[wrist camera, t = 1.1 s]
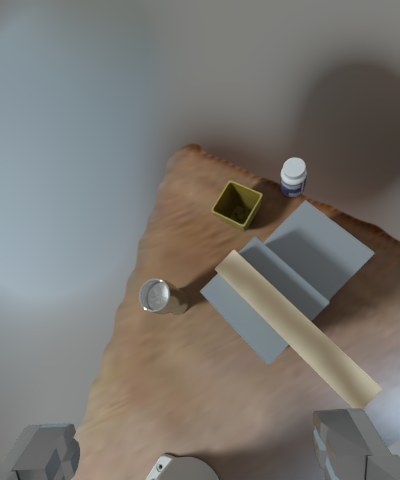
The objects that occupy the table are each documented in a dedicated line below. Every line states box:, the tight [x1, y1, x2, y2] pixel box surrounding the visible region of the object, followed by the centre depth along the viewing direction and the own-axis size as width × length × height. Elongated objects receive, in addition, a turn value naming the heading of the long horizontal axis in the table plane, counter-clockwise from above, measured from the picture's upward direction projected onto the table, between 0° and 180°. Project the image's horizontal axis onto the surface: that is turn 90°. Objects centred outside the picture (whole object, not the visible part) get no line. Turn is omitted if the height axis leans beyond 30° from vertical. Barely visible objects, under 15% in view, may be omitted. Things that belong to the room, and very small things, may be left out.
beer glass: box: [139, 278, 189, 315], centre depth 66 cm, size 7×7×15 cm
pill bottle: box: [281, 158, 307, 197], centre depth 70 cm, size 6×6×10 cm
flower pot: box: [211, 180, 263, 231], centre depth 71 cm, size 9×9×9 cm
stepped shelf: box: [200, 200, 375, 365], centre depth 55 cm, size 24×14×26 cm, turn 133°
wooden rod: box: [215, 250, 382, 409], centre depth 40 cm, size 4×24×3 cm, turn 43°
